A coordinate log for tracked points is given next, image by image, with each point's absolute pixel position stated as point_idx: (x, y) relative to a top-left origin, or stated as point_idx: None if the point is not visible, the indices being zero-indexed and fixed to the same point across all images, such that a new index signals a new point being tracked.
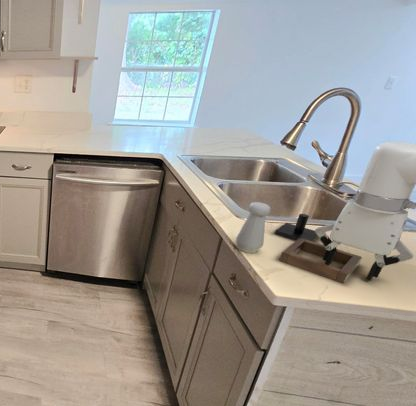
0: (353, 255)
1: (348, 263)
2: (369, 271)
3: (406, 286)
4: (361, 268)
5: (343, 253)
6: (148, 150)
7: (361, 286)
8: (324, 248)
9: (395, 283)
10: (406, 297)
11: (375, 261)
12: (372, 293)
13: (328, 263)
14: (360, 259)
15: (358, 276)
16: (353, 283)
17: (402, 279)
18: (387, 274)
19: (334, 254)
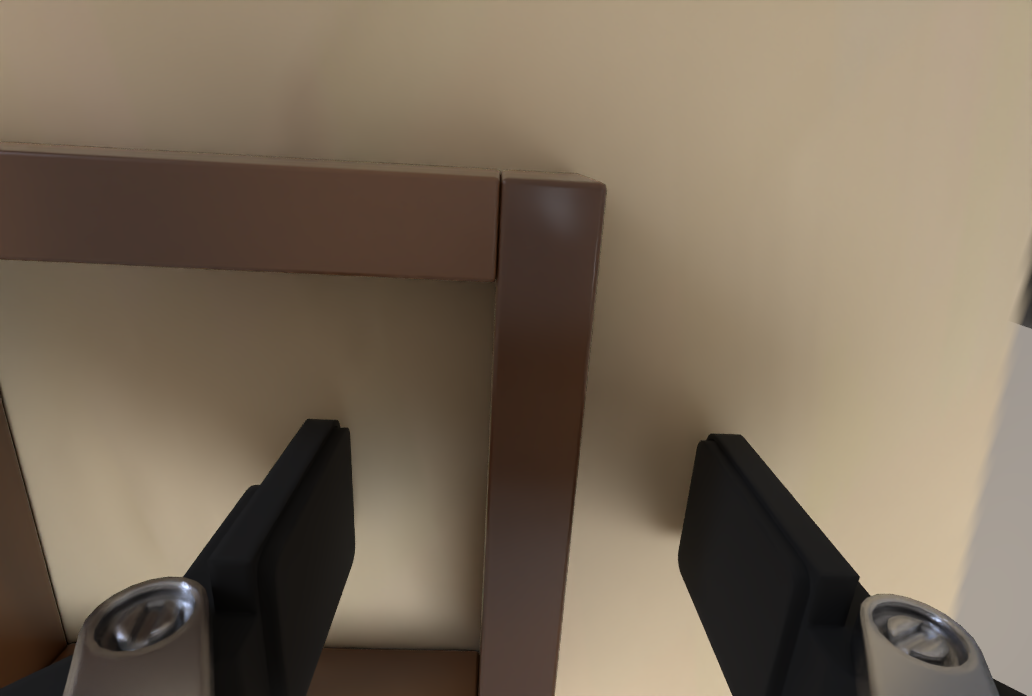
0: (498, 228)
1: (501, 570)
2: (713, 643)
3: (997, 340)
4: (619, 229)
5: (374, 272)
6: None
7: (653, 637)
8: (121, 262)
9: (911, 352)
10: (951, 567)
11: (792, 600)
12: (727, 685)
13: (340, 583)
14: (595, 274)
15: (615, 467)
16: (597, 633)
17: (996, 178)
18: (864, 164)
19: (308, 555)
